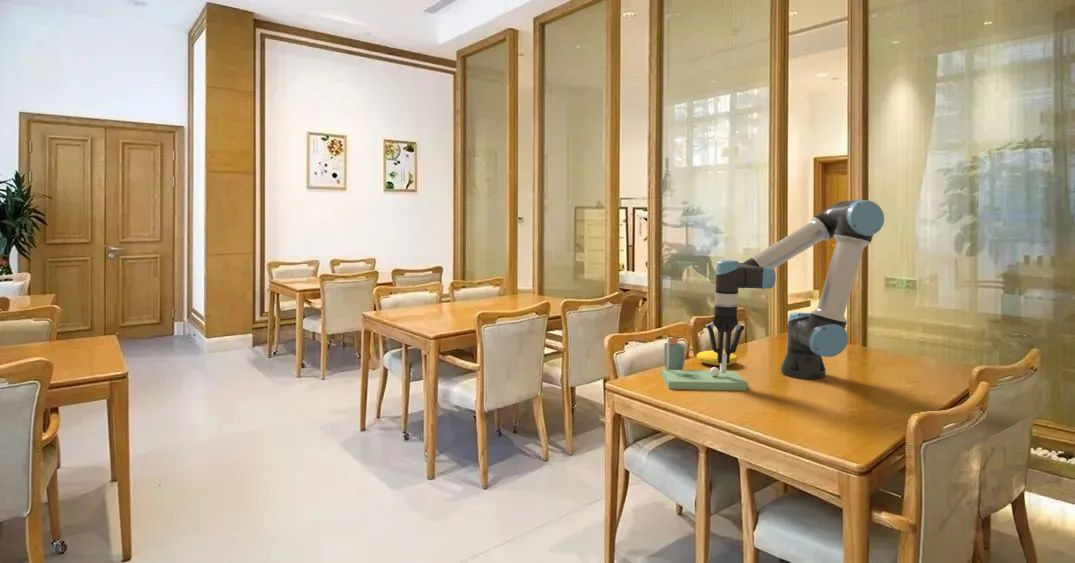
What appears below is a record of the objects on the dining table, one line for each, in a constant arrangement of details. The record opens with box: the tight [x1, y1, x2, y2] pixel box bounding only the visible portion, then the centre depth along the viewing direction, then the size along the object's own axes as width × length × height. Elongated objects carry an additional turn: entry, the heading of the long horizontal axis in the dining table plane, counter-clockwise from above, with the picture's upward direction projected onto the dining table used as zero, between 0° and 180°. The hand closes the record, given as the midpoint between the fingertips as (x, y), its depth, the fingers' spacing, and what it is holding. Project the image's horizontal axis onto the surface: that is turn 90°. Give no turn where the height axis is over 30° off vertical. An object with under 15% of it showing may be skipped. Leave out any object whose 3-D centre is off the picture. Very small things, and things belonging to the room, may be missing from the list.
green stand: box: [661, 337, 748, 391], centre depth 209 cm, size 26×16×14 cm, turn 87°
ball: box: [709, 366, 720, 376], centre depth 209 cm, size 3×3×3 cm
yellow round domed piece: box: [696, 345, 739, 367], centre depth 238 cm, size 16×16×7 cm
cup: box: [663, 342, 686, 370], centre depth 227 cm, size 8×8×10 cm
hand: (722, 372), depth 209 cm, fingers closed
